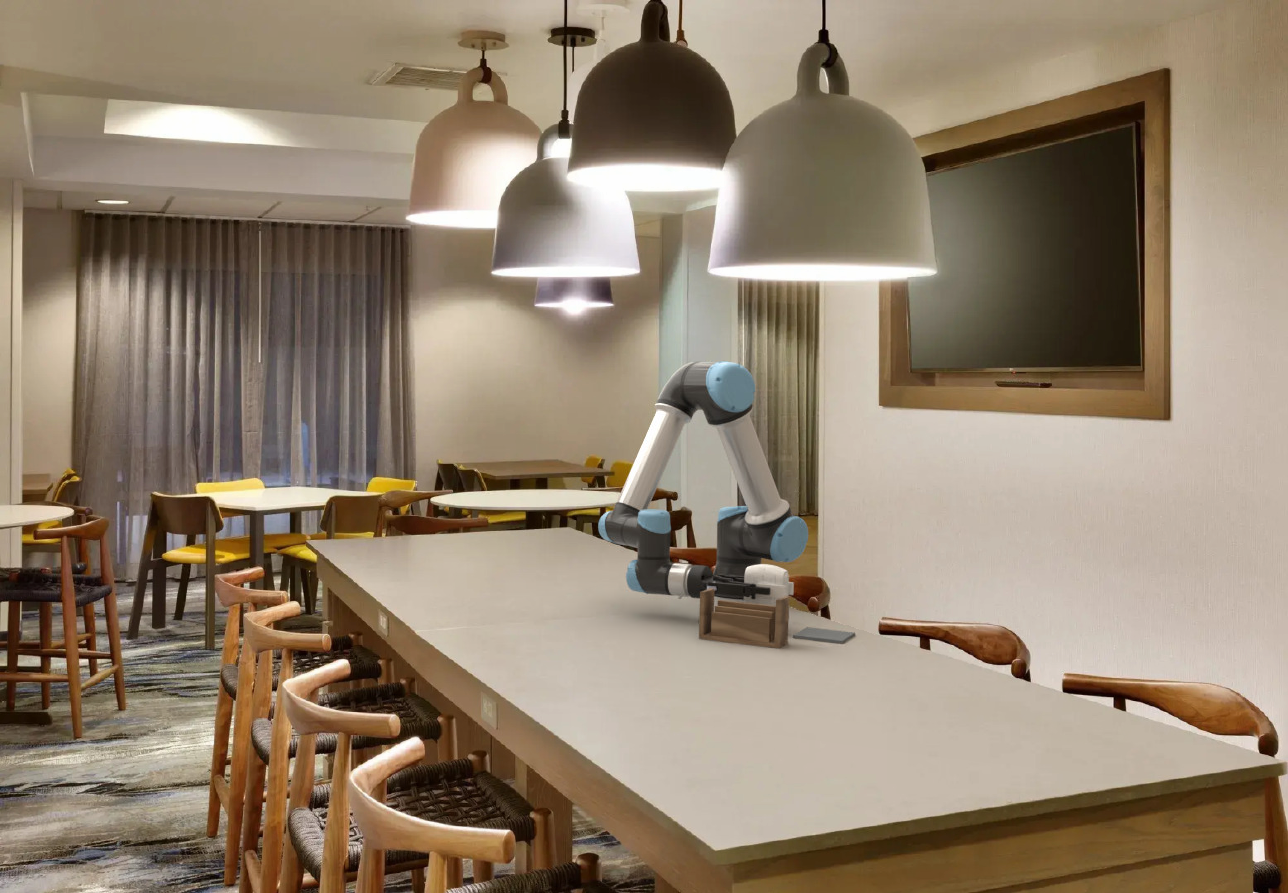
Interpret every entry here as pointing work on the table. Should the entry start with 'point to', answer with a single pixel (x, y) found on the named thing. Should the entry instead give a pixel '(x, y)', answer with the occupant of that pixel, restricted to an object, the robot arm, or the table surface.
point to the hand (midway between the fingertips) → (789, 590)
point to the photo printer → (765, 581)
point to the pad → (824, 635)
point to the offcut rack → (744, 621)
